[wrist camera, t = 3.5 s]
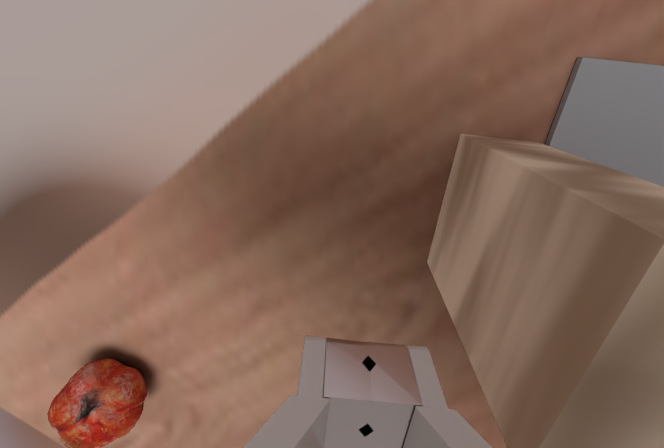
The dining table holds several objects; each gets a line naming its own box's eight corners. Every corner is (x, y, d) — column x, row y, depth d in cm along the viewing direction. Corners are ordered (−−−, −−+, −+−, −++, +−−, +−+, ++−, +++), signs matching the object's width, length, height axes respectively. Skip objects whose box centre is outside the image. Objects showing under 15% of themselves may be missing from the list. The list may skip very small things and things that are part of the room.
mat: (867, 88, 15) (879, 89, 15) (680, 339, 22) (686, 343, 22) (577, 57, 15) (582, 57, 15) (479, 318, 22) (481, 323, 22)
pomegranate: (165, 383, 29) (162, 392, 22) (112, 450, 26) (92, 484, 19) (109, 346, 28) (90, 345, 21) (49, 412, 25) (5, 433, 18)
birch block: (535, 141, 17) (872, 261, 6) (489, 268, 20) (654, 491, 10) (460, 133, 17) (665, 240, 6) (427, 262, 20) (520, 478, 10)
